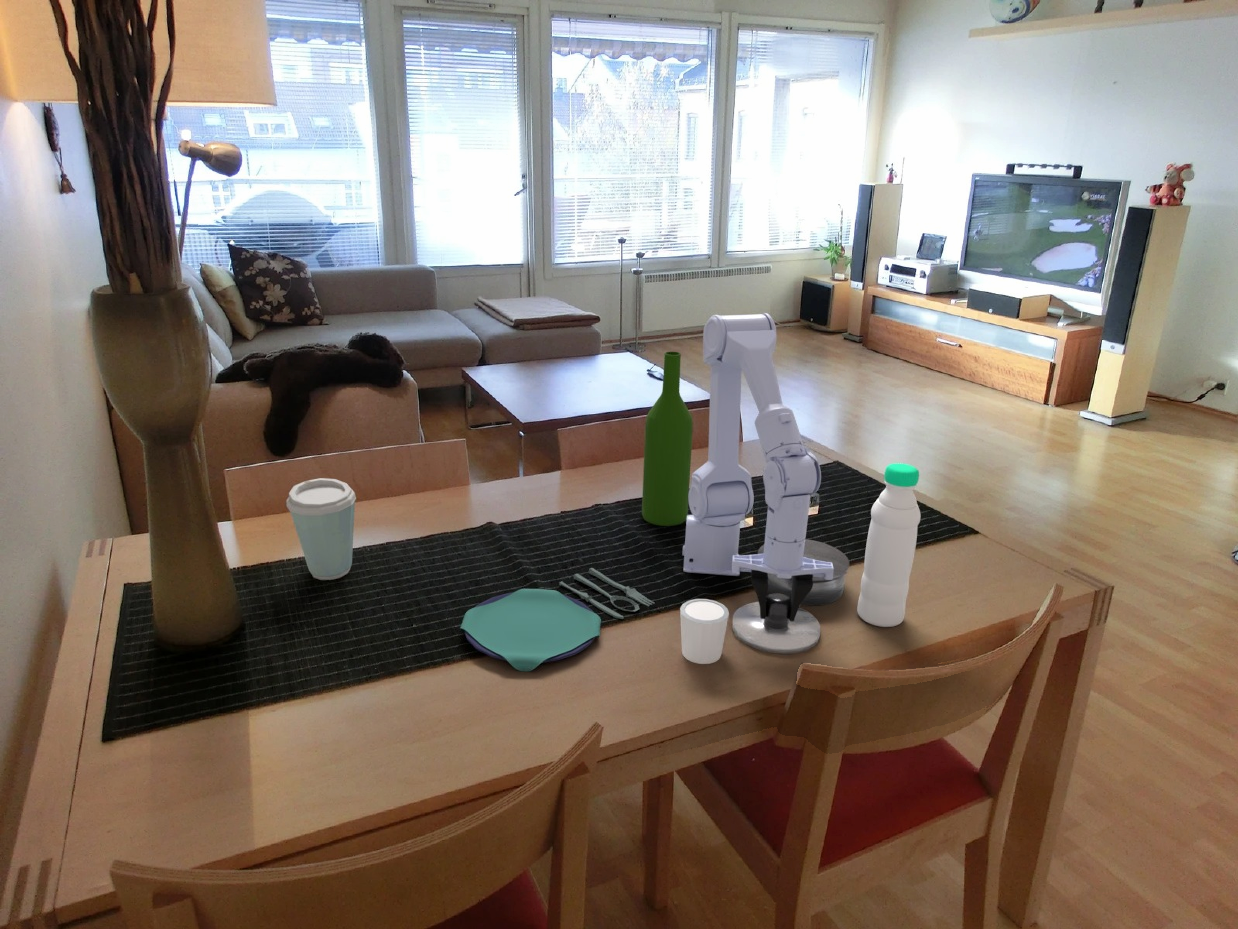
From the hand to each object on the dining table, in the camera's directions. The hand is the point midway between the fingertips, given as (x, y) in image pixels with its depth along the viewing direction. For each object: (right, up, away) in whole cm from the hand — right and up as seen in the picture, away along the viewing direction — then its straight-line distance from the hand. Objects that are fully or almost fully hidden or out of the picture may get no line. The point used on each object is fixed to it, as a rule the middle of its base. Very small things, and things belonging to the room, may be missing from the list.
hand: (776, 616), depth 128 cm
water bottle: (+17, -1, +5) cm, 18 cm away
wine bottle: (-15, +12, +39) cm, 43 cm away
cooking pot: (+7, +3, +14) cm, 16 cm away
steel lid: (0, -2, +1) cm, 2 cm away
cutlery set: (-33, -2, +2) cm, 33 cm away
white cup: (-12, -4, -6) cm, 14 cm away
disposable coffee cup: (-72, +5, +14) cm, 73 cm away
